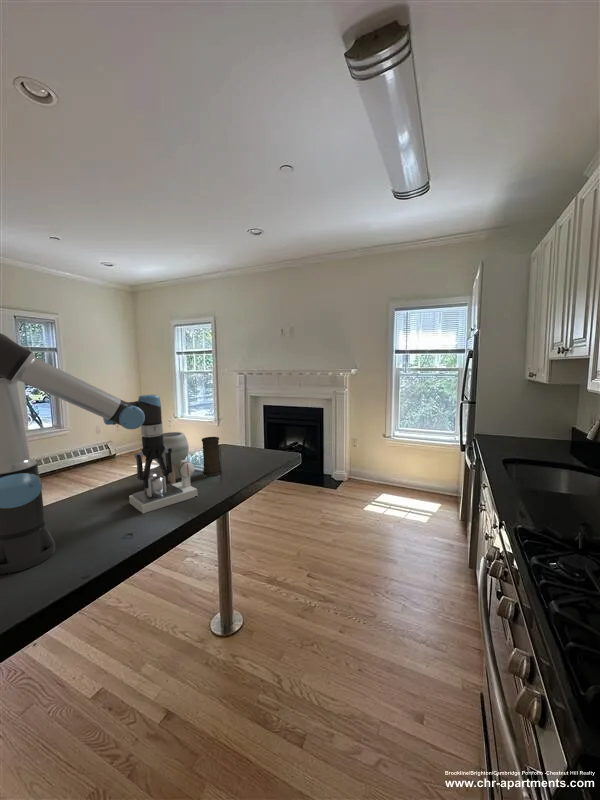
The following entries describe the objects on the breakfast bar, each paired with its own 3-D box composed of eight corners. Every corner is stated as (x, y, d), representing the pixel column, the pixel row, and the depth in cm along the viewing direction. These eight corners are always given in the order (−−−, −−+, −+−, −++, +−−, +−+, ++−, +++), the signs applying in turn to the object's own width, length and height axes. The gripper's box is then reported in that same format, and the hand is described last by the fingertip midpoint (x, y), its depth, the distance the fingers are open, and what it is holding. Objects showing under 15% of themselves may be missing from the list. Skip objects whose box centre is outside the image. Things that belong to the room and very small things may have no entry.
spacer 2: (148, 495, 132) (146, 477, 132) (160, 491, 136) (159, 474, 135) (153, 498, 129) (151, 480, 128) (166, 495, 132) (165, 477, 132)
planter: (175, 489, 149) (171, 439, 147) (145, 485, 155) (142, 437, 152) (197, 477, 165) (194, 431, 162) (170, 474, 170) (167, 430, 167)
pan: (144, 503, 126) (144, 501, 126) (133, 495, 135) (132, 493, 135) (182, 492, 137) (182, 490, 137) (169, 485, 145) (169, 483, 145)
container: (219, 476, 165) (217, 440, 163) (200, 476, 165) (198, 440, 163) (223, 470, 174) (221, 436, 172) (206, 470, 174) (204, 436, 172)
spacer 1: (142, 491, 137) (141, 474, 136) (154, 488, 140) (153, 471, 139) (147, 494, 133) (145, 477, 132) (159, 491, 137) (158, 474, 136)
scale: (142, 513, 125) (139, 476, 124) (129, 503, 135) (126, 468, 133) (202, 494, 142) (200, 462, 140) (186, 486, 152) (184, 456, 150)
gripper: (130, 440, 121) (136, 503, 123) (179, 432, 134) (183, 489, 136) (123, 437, 126) (129, 498, 129) (171, 430, 139) (175, 485, 141)
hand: (156, 493), depth 132 cm, fingers closed on spacer 2, 5 cm apart
